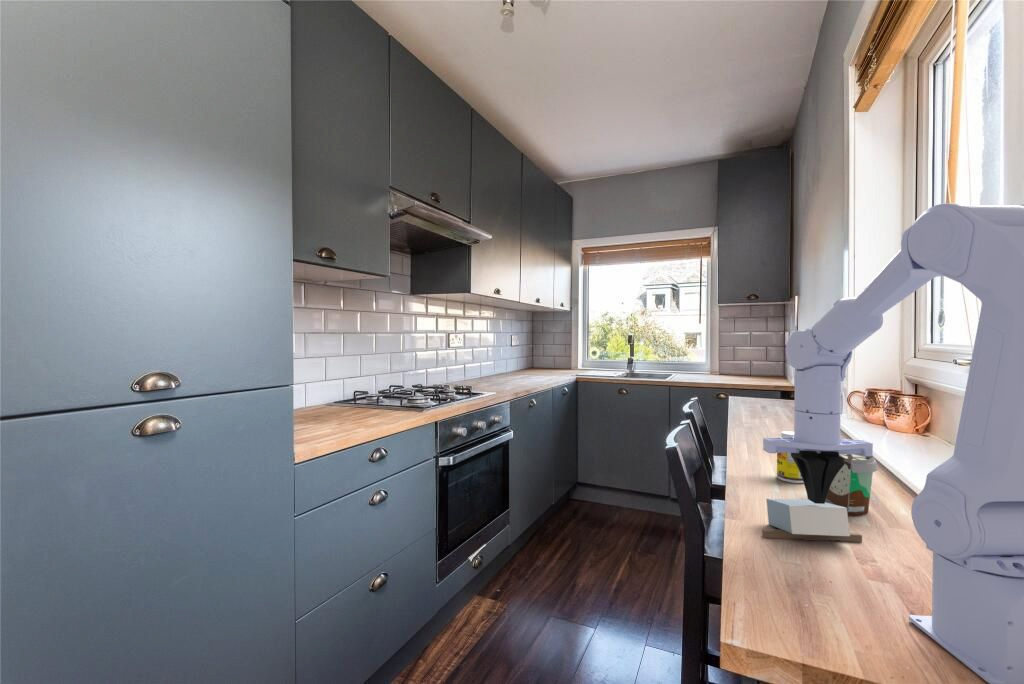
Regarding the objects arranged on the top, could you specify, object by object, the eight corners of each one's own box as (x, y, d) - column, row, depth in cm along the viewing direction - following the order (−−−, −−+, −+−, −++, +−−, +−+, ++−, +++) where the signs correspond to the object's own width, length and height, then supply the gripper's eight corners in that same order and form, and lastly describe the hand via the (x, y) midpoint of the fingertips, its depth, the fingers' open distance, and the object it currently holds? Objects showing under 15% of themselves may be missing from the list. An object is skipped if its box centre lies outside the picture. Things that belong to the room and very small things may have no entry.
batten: (862, 541, 67) (862, 535, 67) (764, 537, 68) (764, 531, 68) (858, 539, 68) (858, 533, 68) (762, 535, 69) (762, 529, 69)
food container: (894, 522, 74) (895, 462, 74) (852, 519, 75) (853, 460, 75) (853, 496, 86) (853, 445, 86) (817, 494, 87) (818, 443, 87)
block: (846, 507, 66) (816, 500, 73) (790, 505, 67) (766, 498, 74) (850, 536, 65) (819, 526, 72) (792, 533, 66) (768, 524, 73)
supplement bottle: (775, 474, 100) (776, 429, 100) (805, 478, 97) (805, 431, 97) (777, 481, 95) (777, 434, 95) (808, 485, 92) (809, 436, 92)
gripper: (850, 407, 70) (849, 493, 70) (754, 406, 71) (753, 490, 71) (883, 415, 63) (882, 510, 63) (776, 413, 64) (775, 506, 64)
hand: (816, 501), depth 67 cm, fingers closed
